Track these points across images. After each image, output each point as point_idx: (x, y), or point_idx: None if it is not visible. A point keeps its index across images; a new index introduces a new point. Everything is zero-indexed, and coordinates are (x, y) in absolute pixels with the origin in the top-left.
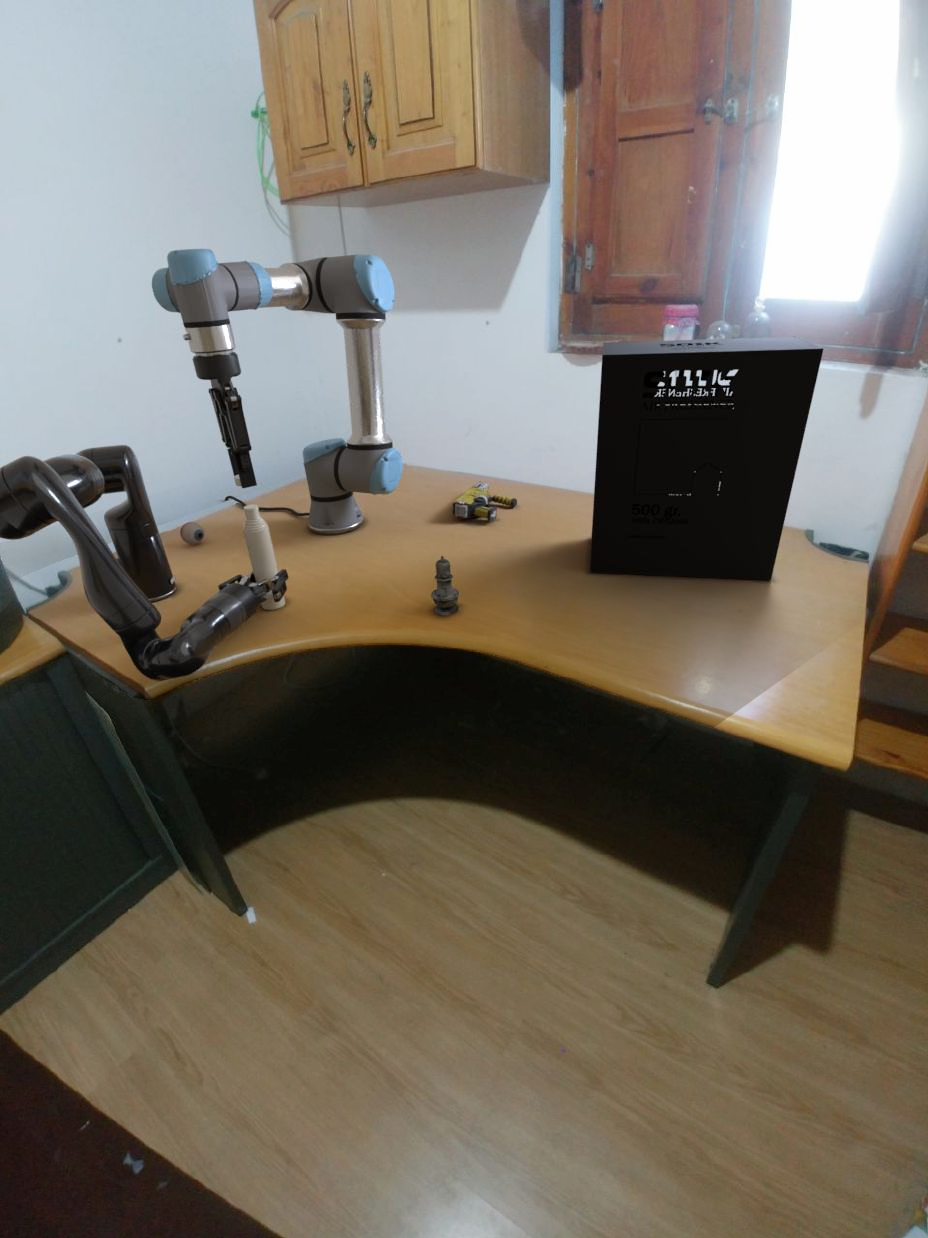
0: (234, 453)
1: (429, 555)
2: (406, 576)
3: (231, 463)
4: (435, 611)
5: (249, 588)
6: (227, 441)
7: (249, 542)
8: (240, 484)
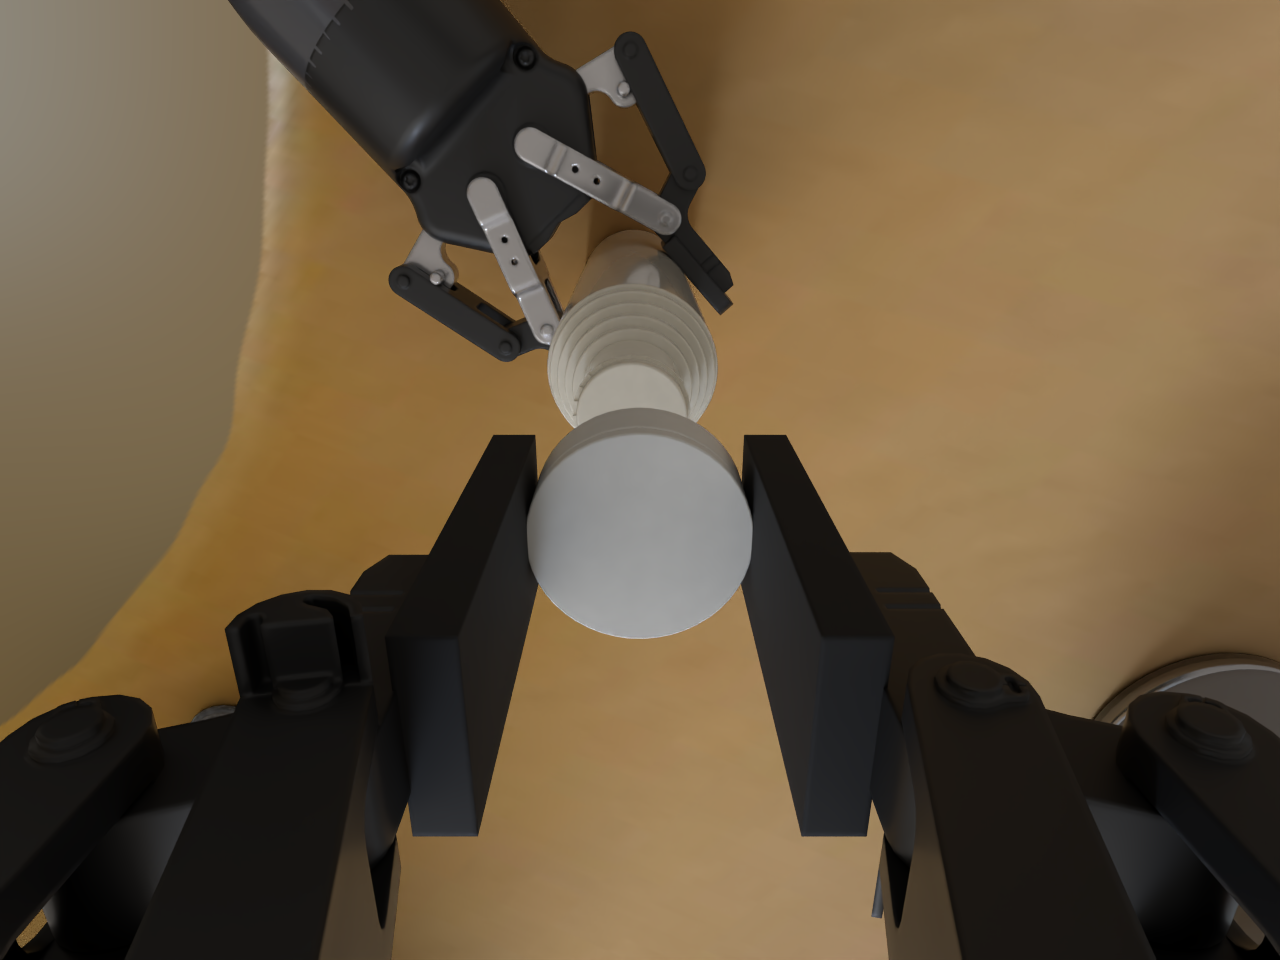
0: (255, 642)
1: (647, 866)
2: (540, 749)
3: (791, 523)
4: (226, 710)
5: (494, 176)
6: (915, 754)
7: (590, 284)
8: (562, 442)
